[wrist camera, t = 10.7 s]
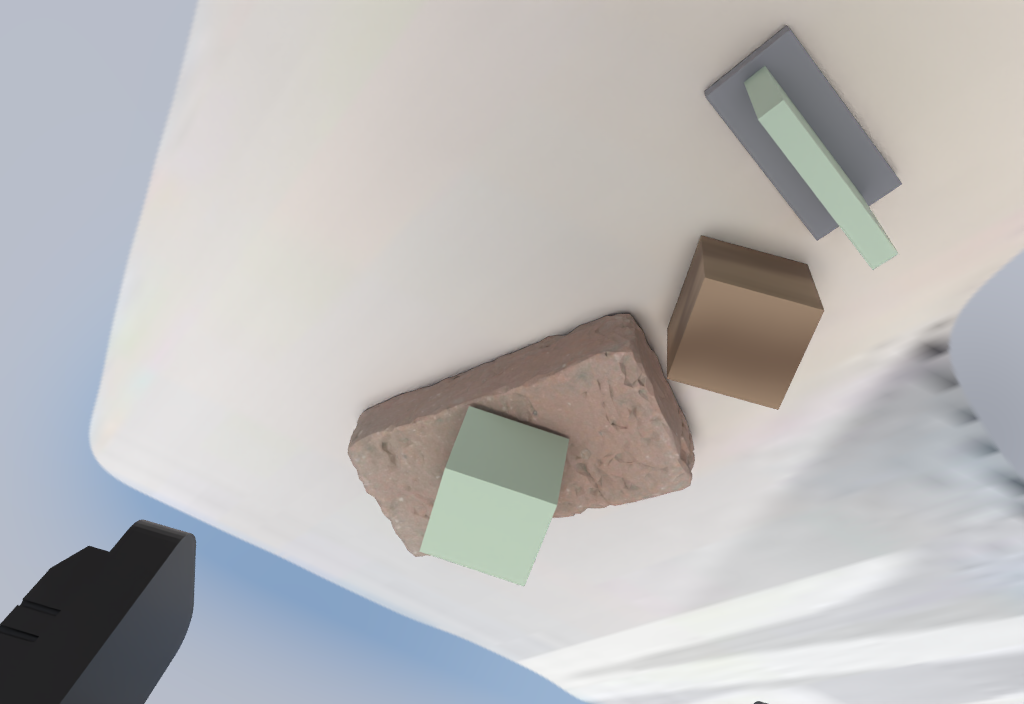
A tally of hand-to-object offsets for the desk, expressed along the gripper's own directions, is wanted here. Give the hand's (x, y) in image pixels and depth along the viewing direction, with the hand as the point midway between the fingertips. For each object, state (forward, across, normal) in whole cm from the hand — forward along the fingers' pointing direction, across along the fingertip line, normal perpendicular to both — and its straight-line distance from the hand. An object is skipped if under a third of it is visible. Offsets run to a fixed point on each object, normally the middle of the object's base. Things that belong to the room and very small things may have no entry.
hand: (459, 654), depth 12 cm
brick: (+30, 0, +17) cm, 34 cm away
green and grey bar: (+30, -8, -2) cm, 31 cm away
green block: (+25, 0, +16) cm, 30 cm away
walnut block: (+30, -8, +6) cm, 31 cm away
